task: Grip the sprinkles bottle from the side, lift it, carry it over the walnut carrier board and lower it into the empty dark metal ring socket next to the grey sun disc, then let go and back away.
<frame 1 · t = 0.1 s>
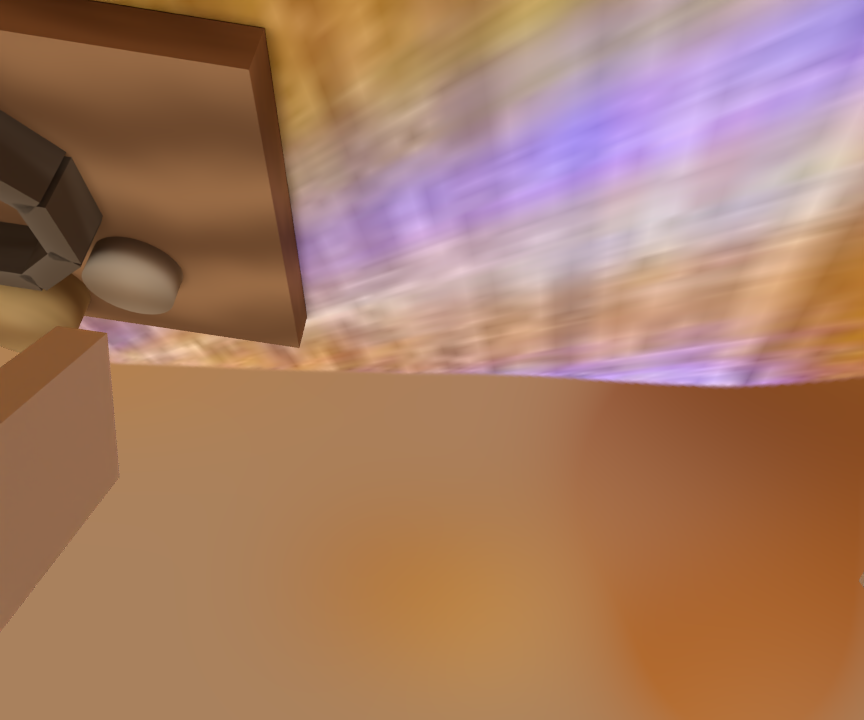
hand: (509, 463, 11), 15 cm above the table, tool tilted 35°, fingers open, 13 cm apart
carrier board: (88, 180, 29), on the table
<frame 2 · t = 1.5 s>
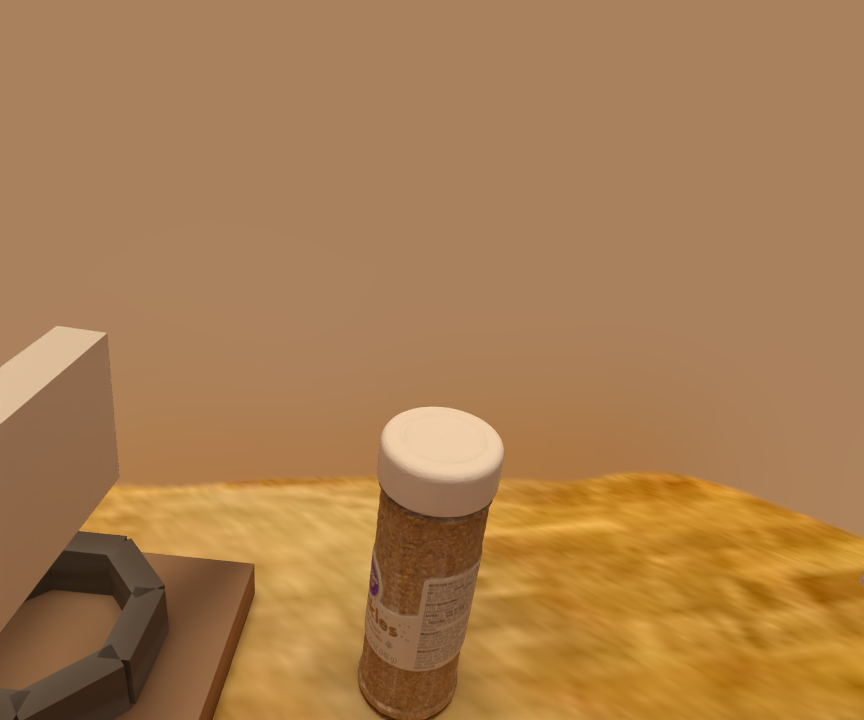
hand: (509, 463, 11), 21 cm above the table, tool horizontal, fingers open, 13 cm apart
sprinkles bottle: (407, 682, 30), on the table
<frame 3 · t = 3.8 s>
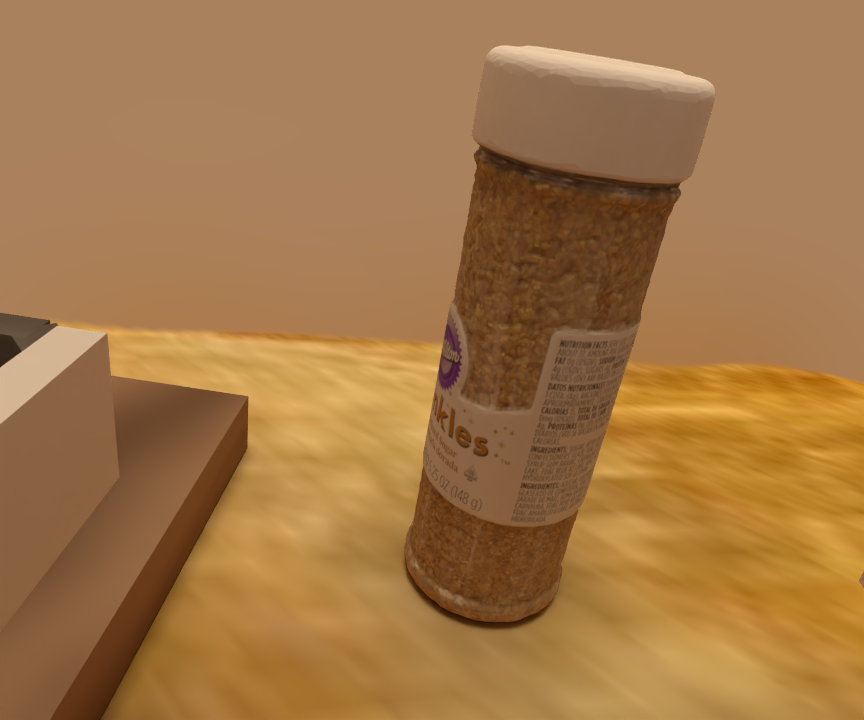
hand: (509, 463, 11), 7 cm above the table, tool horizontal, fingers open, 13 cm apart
sprinkles bottle: (480, 572, 19), on the table
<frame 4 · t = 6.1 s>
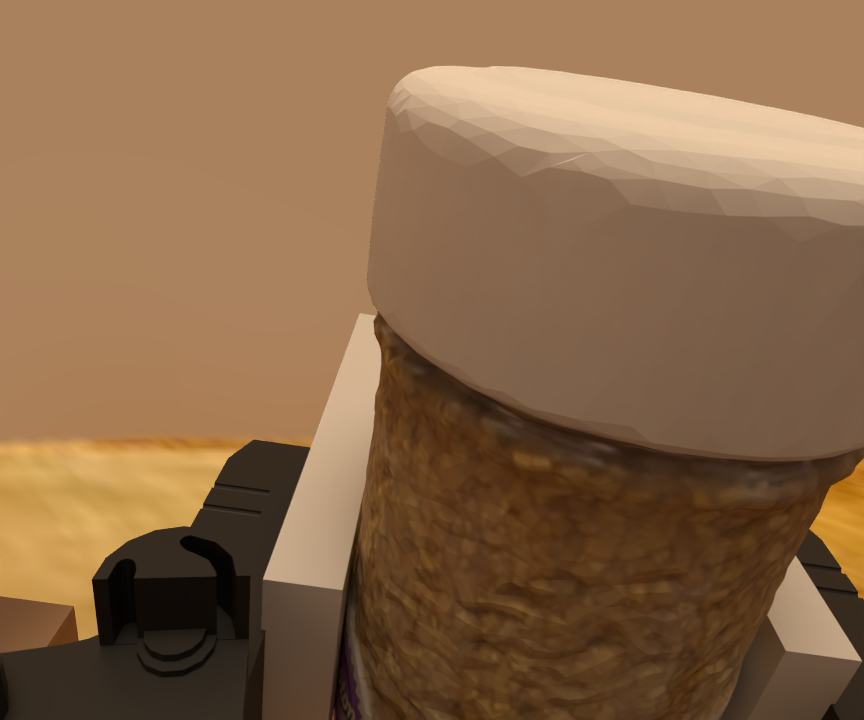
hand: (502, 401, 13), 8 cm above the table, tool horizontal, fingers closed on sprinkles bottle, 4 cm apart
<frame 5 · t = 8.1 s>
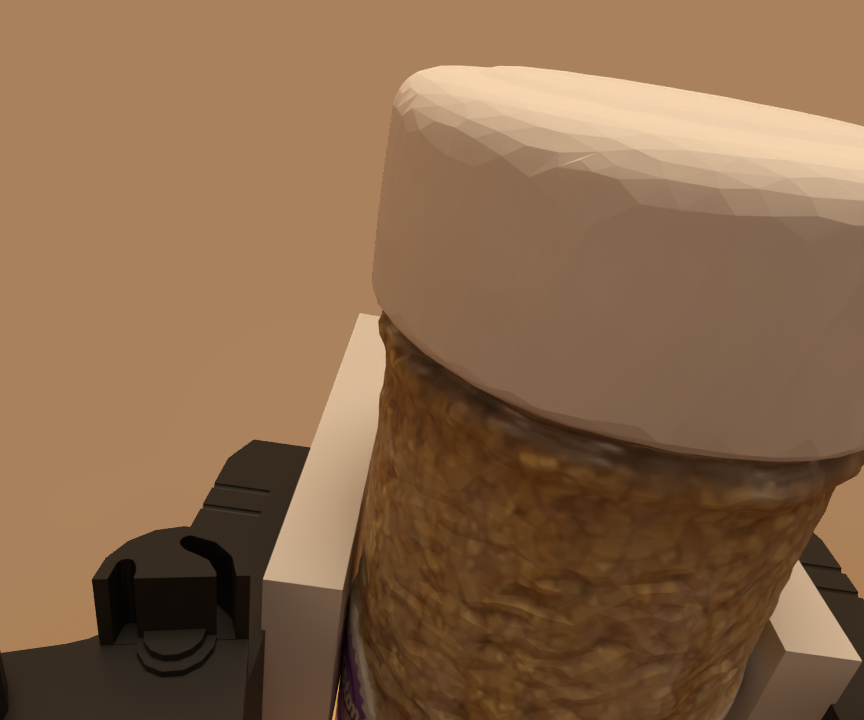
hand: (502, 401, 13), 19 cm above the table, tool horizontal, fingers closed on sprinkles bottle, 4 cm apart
when the fingers open (10 cm above the table, at t = 10.1 s): sprinkles bottle stays where it is, resting on carrier board.
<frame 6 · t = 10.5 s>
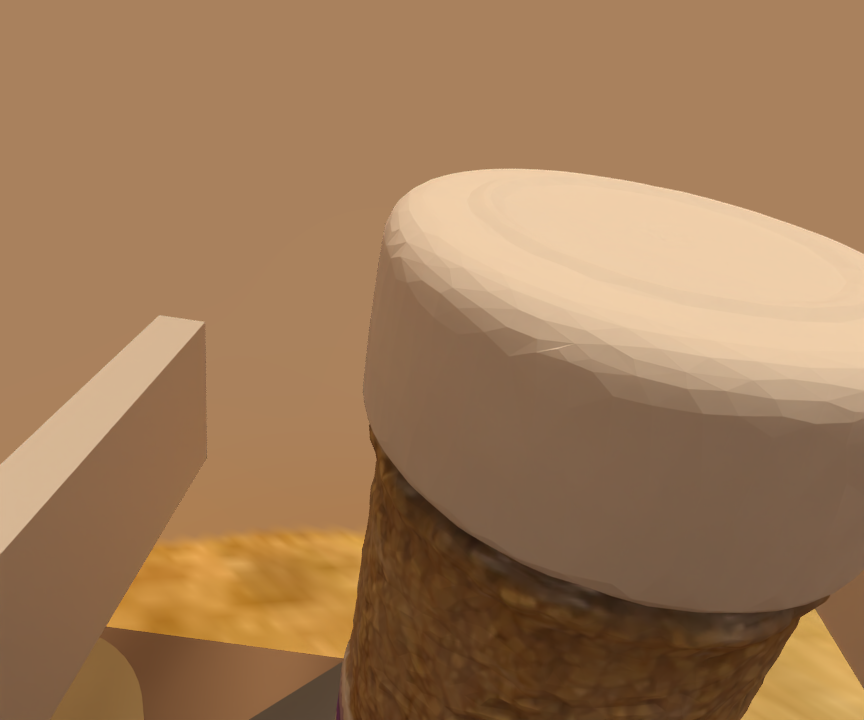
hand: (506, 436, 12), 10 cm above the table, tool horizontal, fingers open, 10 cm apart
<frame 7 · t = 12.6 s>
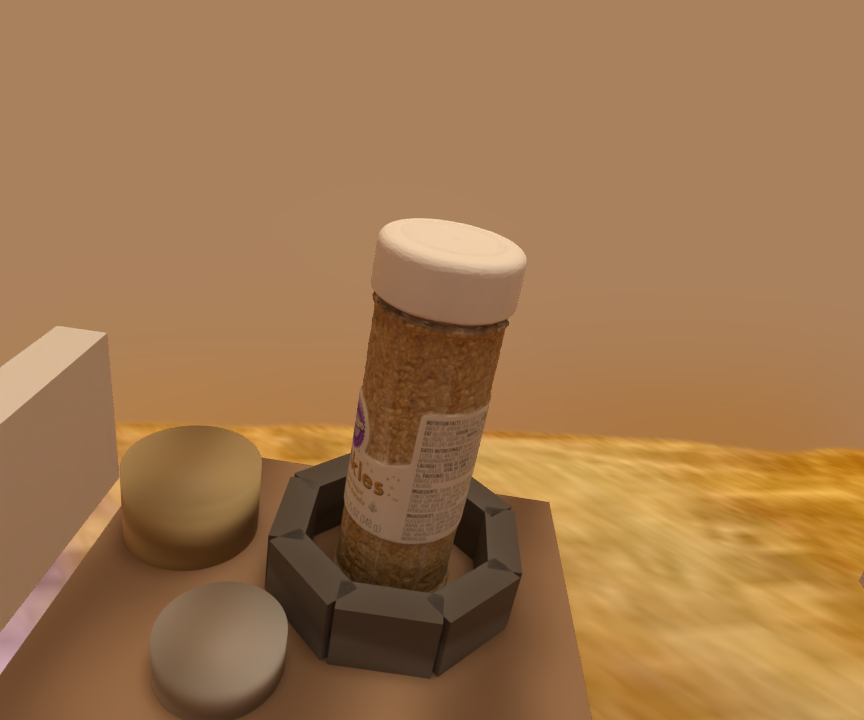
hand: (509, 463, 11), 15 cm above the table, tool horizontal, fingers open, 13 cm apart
sprinkles bottle: (389, 576, 26), point 2 cm above the table, touching carrier board
carrier board: (320, 666, 24), on the table
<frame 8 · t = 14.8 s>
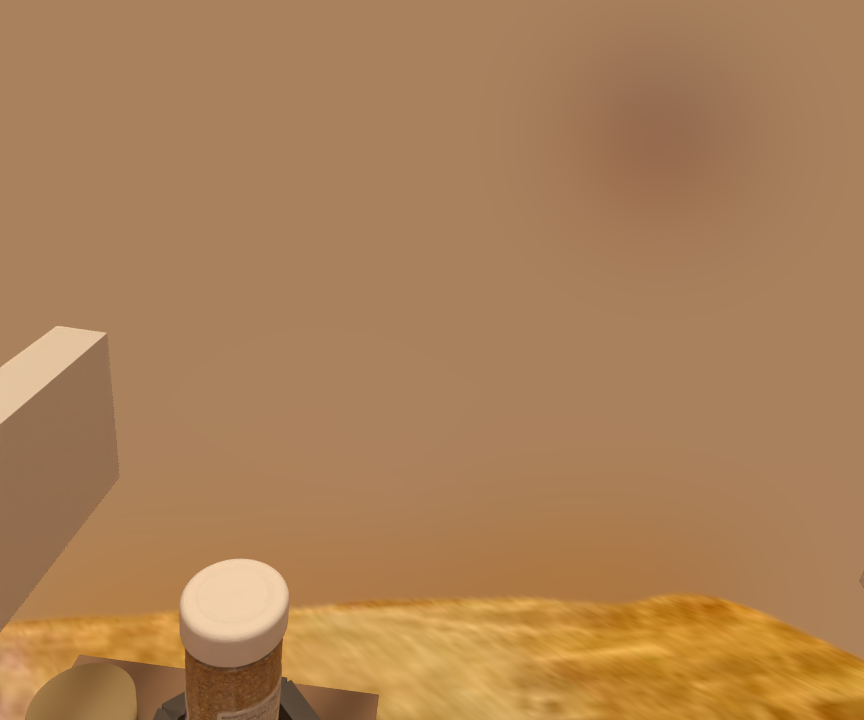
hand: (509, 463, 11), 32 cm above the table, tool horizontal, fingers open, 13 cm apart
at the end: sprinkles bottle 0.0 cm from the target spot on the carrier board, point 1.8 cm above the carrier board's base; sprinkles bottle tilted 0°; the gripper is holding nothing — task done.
